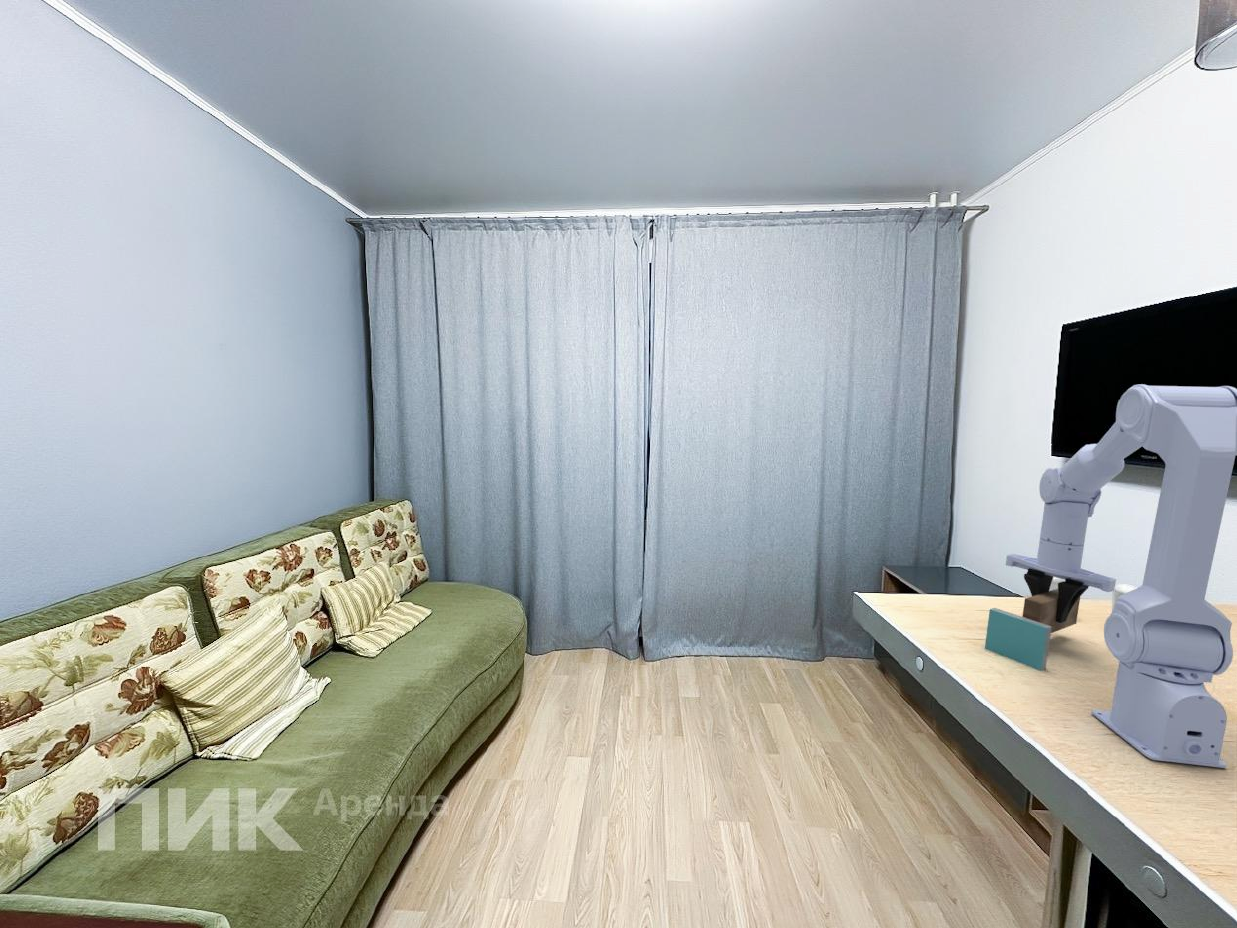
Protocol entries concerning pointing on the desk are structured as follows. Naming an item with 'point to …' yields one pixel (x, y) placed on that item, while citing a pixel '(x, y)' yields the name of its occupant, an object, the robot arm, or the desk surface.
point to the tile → (1018, 638)
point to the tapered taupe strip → (1048, 610)
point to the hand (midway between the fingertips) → (1050, 617)
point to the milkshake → (1121, 591)
